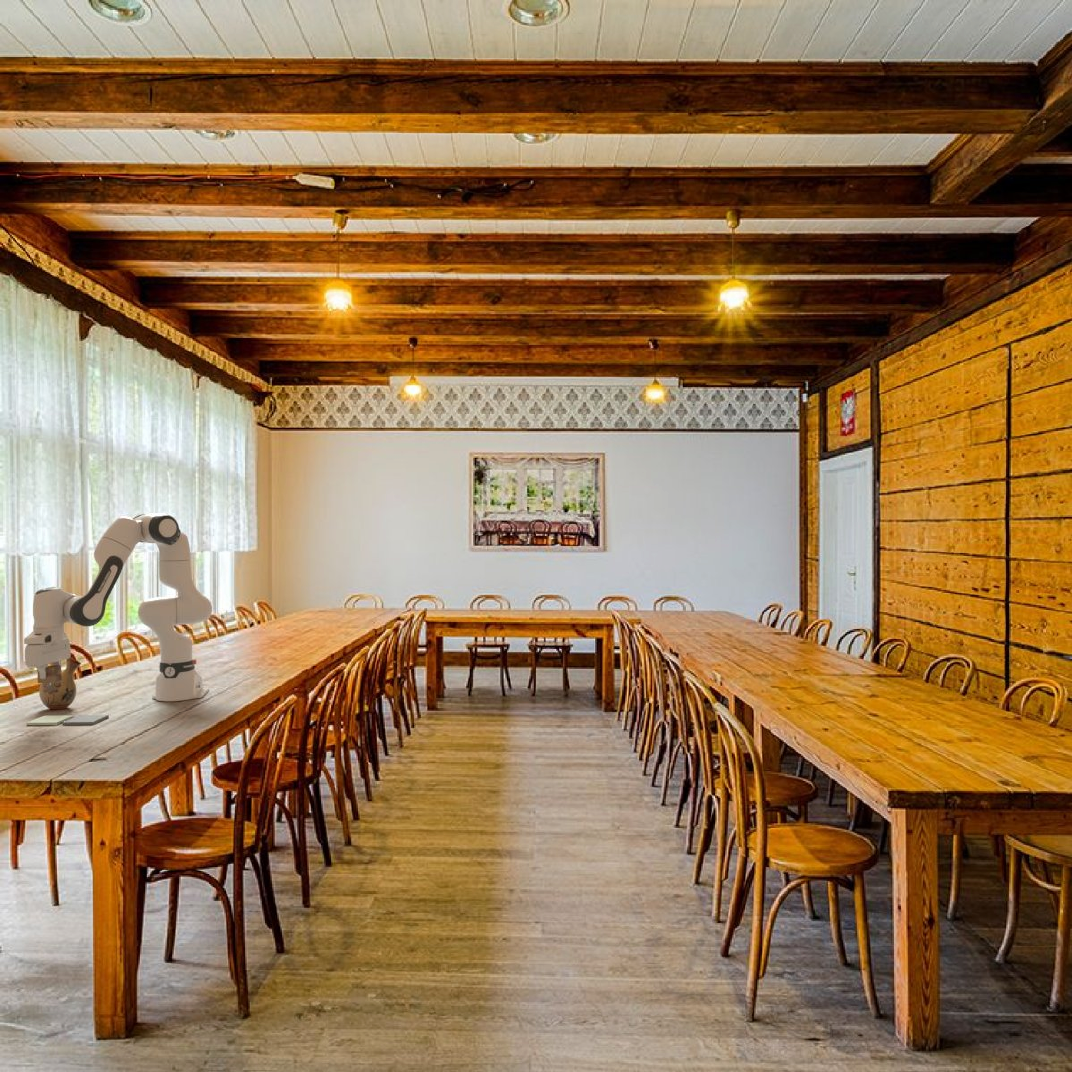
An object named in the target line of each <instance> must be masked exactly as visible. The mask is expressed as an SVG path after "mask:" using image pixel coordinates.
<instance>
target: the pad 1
mask: <svg viewBox="0 0 1072 1072" xmlns="http://www.w3.org/2000/svg"><path fill="white" fill-rule="evenodd" d="M74 717H75V715H70V714H69V715H68V714H67V715H66V714H65V715H62V714H61V715H43V716H40V717H37V718H35V719H31V720H30V721H28V722H25V726H26V725H54V726H58V725H57V724H59V723H61V722H64V721H67V720H69V719H72V718H74ZM61 724H62V723H61ZM59 725H60V724H59Z"/></svg>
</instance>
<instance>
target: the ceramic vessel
mask: <svg viewBox="0 0 1072 1072" xmlns="http://www.w3.org/2000/svg"><path fill="white" fill-rule="evenodd" d="M65 661H66V667H65V670H63V671H62V672H61V680H60V681H57V682H53V683H40V686H39V692H38V693H39V699H40V701H41V702H42V704H43V705H44V706H45V707H46V708H47V709H49V710H51V709H60V710H64V708H65V709H67V708H68V707H69V706H71V705H72V703H73V702H74V700H75V698H76V696H77V685H76V682H75V680H74V674H75V671H76V670H77V669H79V667H80V666H81V665H82V661H79V660H75V659H73V658H72V657H71V656H70V658H69V659H65ZM46 666H49V664H47V665H46ZM35 669H37V667H35Z"/></svg>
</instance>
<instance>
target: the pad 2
mask: <svg viewBox="0 0 1072 1072" xmlns="http://www.w3.org/2000/svg"><path fill="white" fill-rule="evenodd" d="M109 715H110V714H83V715H80V714H79V715H77V716H74V718H72V719H69V720H67V721H65V722H63V723H62V726H93V724H94V725H96V724H98V723H100V722H99V721H101V722H103V721H105V720H106V718H107V719H109ZM97 722H98V723H97ZM95 723H96V724H95Z"/></svg>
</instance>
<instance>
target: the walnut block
mask: <svg viewBox="0 0 1072 1072" xmlns="http://www.w3.org/2000/svg"><path fill="white" fill-rule="evenodd" d="M45 670H46V673H48V677H47V678H45V679H41V678H40V673H39V671H38V670H36V671H37V683H38V684H41V683H53V682H57V681H60V680H61V673H62V664H61V665H54V664H52V665H48V666H46V668H45Z"/></svg>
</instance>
